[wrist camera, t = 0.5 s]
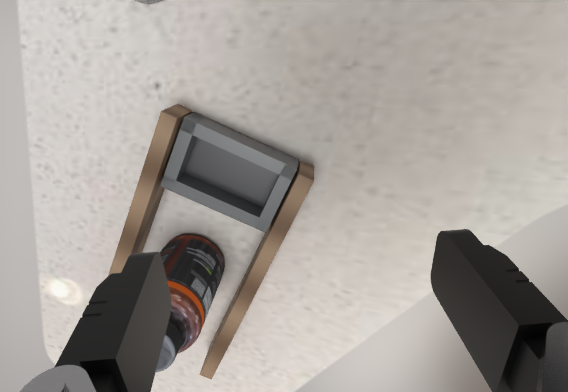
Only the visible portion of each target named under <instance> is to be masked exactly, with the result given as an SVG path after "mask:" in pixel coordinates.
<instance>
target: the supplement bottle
mask: <svg viewBox="0 0 568 392" xmlns="http://www.w3.org/2000/svg"><path fill="white" fill-rule="evenodd" d="M160 255H161V257H162V261H163V265H164V269H165V273H166V278H167V282H168V286H169V290H170V294H171V313H170V318H169V322H168V325H167V329H166V333H165V337H164V341H163V345H162V349H161V352H160V356H159V360H158V364H157V368H156V372H159V371H163V370H165V369H167V368H168V367H169V366H170V365H171V364H172V363H173V361H174V359H175V357H176V355H177V353H180V352H182V351H184V350H186V349H187V348H189V347H190V346H191V345H192V344H193V343H194V342H195V341H196V340H197V338H198V336H199V334H200V332H201V329H202V327H203V324H204V322H205V319H206V317H207V314H208V311H209V309H210V306H211V304H212V301H213V298H214V296H215V294H216V291H217V288H218V286H219V283H220V281H221V278H222V275H223V271H224V260H223V257H222V255H221V253H220V251H219V250H218V248H217V247H216V246H215V245H214V244H213V243H211V242H210V241H209V240H207V239H205V238H203V237H199V236H195V235H183V236H179V237H177V238H175V239H173V240H171V241H170V242H169V243H168V244H167V245H166V246H165V247H164V248H163V249H162V251H161V252H160Z"/></svg>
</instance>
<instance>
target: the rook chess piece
mask: <svg viewBox="0 0 568 392" xmlns="http://www.w3.org/2000/svg"><path fill="white" fill-rule="evenodd" d="M135 1H137V2H141V3H146V4H151V3H155V2H159V1H161V0H135Z"/></svg>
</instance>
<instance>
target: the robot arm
mask: <svg viewBox="0 0 568 392" xmlns="http://www.w3.org/2000/svg"><path fill="white" fill-rule="evenodd" d="M431 284H432V288H433V291H434V293H435V295H436V297H437V299H438V300H439V302H440V304H441V306H442V307H443V309H444V311H445V312H446V314H447V316H448V317H449V319H450V321H451V322H452V324H453V326H454V328H455V329H456V331H457V332H458V334H459V336H460V338H461V339H462V341H463V343H464V344H465V346H466V348H467V350H468V351H469V353H470V355H471V356H472V358H473V360H474V361H475V363H476V365H477V366H478V368H479V370H480V371H481V373H482V375H483V376H484V378H485V380H486V382H487V383H488V385H489V387H490V388H491V390H492V392H568V320H567V319H566V318H565V317H564V316H563V315H562V314H561V313H560V312H559V311H558V310H557V309H556V308H555V307H554V305H553V304H552V303H550V301H549V300H548V299H547V298H546V297H545V296H544V295H543V294H542V293H541V292H540V291H539V290H538V288H537V287H535V285H534V284H533V283H532V282H529V279H528V278H527V277H526V276H525V275H524V274H523V273H522V272H521V271H519V269H518V267H517V266H516V265H515V264H514V263H513V262H512V261H511V260H510V259H509V258H508V257H507V256H506V255H505V254H503V253H501V252H499V251H498V250H496V249H495V248H493V247H491V246H490V245H483V244H482V243H481V242H480V241H479V240H478V238H477V237H476V236H475V235H474V234H473V233H472V232H471V231H470V230H468V229H464V230H450V231H441V232H440V233H439V234H438V236H437V241H436V247H435V253H434V258H433V264H432V270H431ZM170 313H171V294H170V290H169V286H168V282H167V278H166V273H165V269H164V265H163V261H162V257H161V255H160V253H159V252H150V253H137V254H130V255H129V257H128V259H127V261H126V263H125V265H124V267H123V270H122V272H121V273H112V274H110V275H109V276H108V277H107V278H106V279H105V280H104V281H103V282H102V283H101V284H100V285H99V286H98V287H97V288H96V290H95V292H94V294H93V295H92V297H91V299H90V301H89V305H87V307H86V309H85V311H84V312H83V314H82V315H83V317H82V318H80V320H79V322H78V324H77V326H76V328H75V329H74V331H73V333H72V335H71V337H70V339H69V341H68V343H67V345H66V346H65V348H64V350H63V352H62V354H61V356H60V358H59V360H58V362H57V363H56V365H55V367H54V368H52V369H49V370H47V371H45V372H43V373H41V374H40V375H38V376H37V377H35V378H34V379H32V380H31V381H30V382H29V383H28V384H27V385H26V386H25V387H24V388H23V389H22V390H21V391H20V392H150V391H151V387H152V383H153V379H154V376H155V372H156V368H157V364H158V360H159V356H160V352H161V349H162V345H163V341H164V337H165V333H166V329H167V325H168V322H169V318H170Z"/></svg>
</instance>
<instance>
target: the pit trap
mask: <svg viewBox="0 0 568 392" xmlns="http://www.w3.org/2000/svg"><path fill="white" fill-rule="evenodd" d="M297 167H298V159H295V158H293V157H291V156H289V155H287V154H285V153H282V152H280V151H278V150H276V149H274V148H272V147H269V146H267V145H265V144H263V143H261V142H258V141H256V140H254V139H252V138H250V137H248V136H245V135H243V134H241V133H239V132H237V131H235V130H232V129H230V128H228V127H226V126H224V125H222V124H219V123H217V122H215V121H213V120H211V119H209V118H206V117H204V116H202V115H200V114H198V113H196V112H193V113H191V114H189V115H187V116H185V117H184V119H183V122H182V125H181V128H180V130H179V133H178V136H177V139H176V142H175V145H174V148H173V151H172V154H171V156H170V159H169V162H168V165H167V168H166V171H165V174H164V177H163V179H162V182H161V185H160V186H161V187H163V188H166V189H168V190H170V191H172V192H175V193H177V194H179V195H181V196H184V197H186V198H188V199H191V200H193V201H195V202H197V203H200V204H202V205H204V206H206V207H209V208H211V209H213V210H216V211H218V212H220V213H222V214H225V215H227V216H229V217H231V218H234V219H236V220H238V221H241V222H243V223H245V224H247V225H250V226H252V227H254V228H256V229H259V230H261V231H263V232H267V230H268V227H269V225H270V223H271V221H272V219H273V217H274V215H275V213H276V211H277V209H278V207H279V205H280V203H281V201H282V199H283V197H284V195H285V193H286V191H287V189H288V187H289V185H290V183H291V181H292V179H293V177H294V175H295V172H296V170H297Z"/></svg>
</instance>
